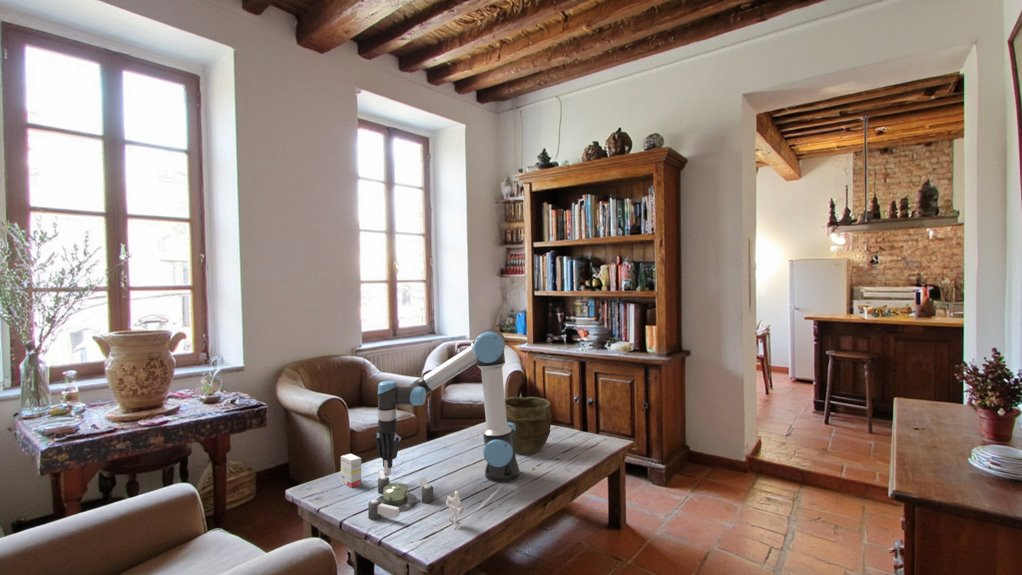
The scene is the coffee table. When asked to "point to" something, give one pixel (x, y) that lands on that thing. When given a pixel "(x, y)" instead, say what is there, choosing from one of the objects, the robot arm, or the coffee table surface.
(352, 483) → the ink box
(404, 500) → the base
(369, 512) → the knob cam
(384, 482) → the knob far
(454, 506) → the figurine
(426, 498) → the knob near
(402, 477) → the coffee table surface
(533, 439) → the clay pot
